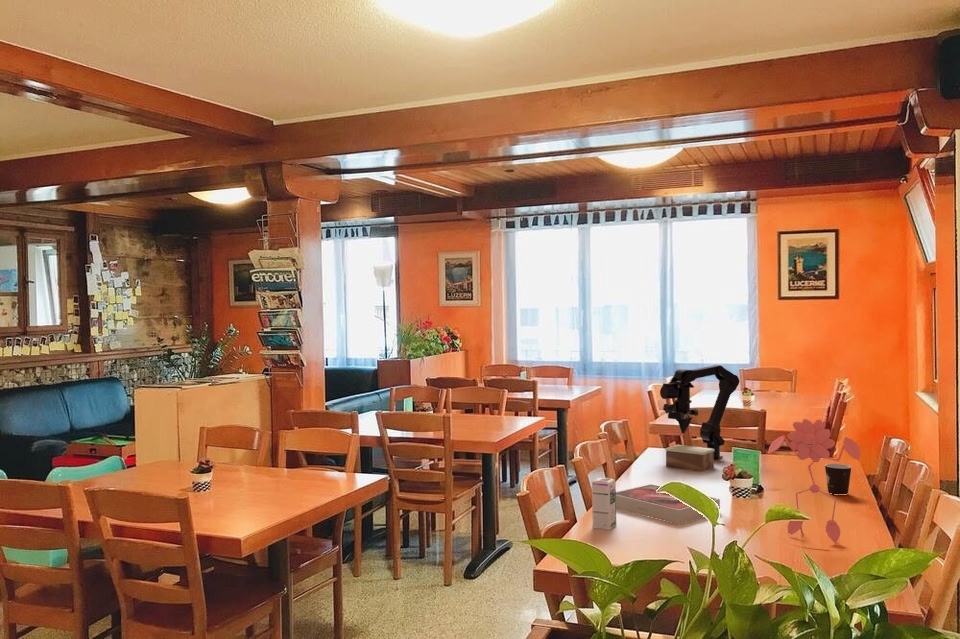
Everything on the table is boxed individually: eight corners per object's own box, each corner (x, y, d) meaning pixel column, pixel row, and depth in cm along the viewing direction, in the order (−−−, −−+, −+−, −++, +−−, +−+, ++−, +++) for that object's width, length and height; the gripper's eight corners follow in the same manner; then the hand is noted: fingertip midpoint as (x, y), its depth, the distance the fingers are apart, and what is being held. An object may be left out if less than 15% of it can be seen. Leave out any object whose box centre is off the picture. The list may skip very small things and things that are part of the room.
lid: (677, 446, 330) (677, 444, 330) (714, 451, 319) (714, 448, 319) (665, 450, 320) (665, 448, 320) (702, 455, 310) (702, 452, 310)
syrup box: (610, 530, 226) (610, 482, 226) (591, 527, 229) (591, 480, 228) (616, 525, 231) (616, 478, 231) (598, 523, 234) (598, 476, 233)
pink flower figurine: (774, 526, 229) (773, 412, 228) (866, 544, 212) (866, 420, 211) (754, 539, 217) (753, 418, 216) (850, 558, 200) (850, 427, 199)
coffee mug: (826, 489, 277) (826, 462, 276) (852, 492, 272) (852, 465, 272) (822, 496, 267) (822, 468, 266) (849, 499, 262) (849, 470, 262)
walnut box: (678, 462, 329) (678, 447, 329) (713, 466, 319) (713, 451, 319) (666, 466, 320) (666, 451, 320) (702, 471, 310) (702, 455, 310)
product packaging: (650, 498, 267) (650, 484, 267) (719, 514, 245) (719, 499, 245) (609, 508, 254) (609, 493, 254) (678, 526, 232) (678, 510, 232)
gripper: (675, 395, 345) (675, 429, 345) (656, 398, 331) (656, 434, 331) (698, 396, 338) (698, 431, 338) (680, 400, 324) (680, 436, 324)
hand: (683, 433), depth 333 cm, fingers closed
